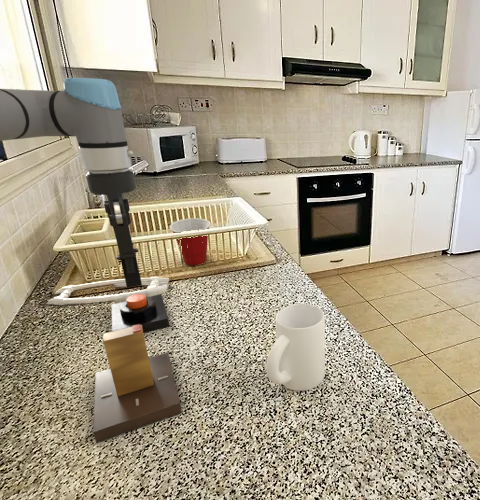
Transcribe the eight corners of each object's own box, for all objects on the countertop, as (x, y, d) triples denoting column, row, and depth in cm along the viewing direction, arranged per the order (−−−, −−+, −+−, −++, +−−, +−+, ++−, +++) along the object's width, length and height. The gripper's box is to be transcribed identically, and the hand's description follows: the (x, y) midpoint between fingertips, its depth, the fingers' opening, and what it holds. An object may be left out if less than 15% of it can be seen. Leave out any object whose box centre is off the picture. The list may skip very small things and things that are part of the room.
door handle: (167, 298, 89) (42, 314, 81) (171, 281, 98) (58, 293, 90) (166, 288, 88) (38, 303, 80) (170, 272, 97) (55, 283, 89)
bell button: (127, 303, 79) (125, 296, 79) (146, 299, 81) (145, 292, 81) (128, 311, 77) (126, 303, 76) (147, 306, 78) (146, 299, 78)
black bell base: (113, 313, 83) (109, 297, 81) (163, 302, 87) (160, 287, 86) (114, 341, 73) (109, 323, 72) (169, 327, 78) (166, 310, 77)
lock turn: (117, 396, 57) (102, 339, 53) (117, 387, 58) (102, 332, 55) (154, 385, 59) (142, 330, 55) (152, 377, 61) (141, 323, 57)
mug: (251, 392, 61) (245, 330, 57) (297, 354, 70) (295, 298, 66) (289, 414, 57) (286, 348, 52) (333, 370, 66) (334, 312, 62)
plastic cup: (174, 272, 103) (167, 231, 99) (176, 258, 112) (170, 219, 108) (216, 267, 107) (211, 227, 102) (214, 253, 116) (209, 216, 112)
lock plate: (98, 382, 62) (95, 371, 62) (169, 361, 68) (167, 351, 67) (96, 443, 51) (92, 431, 50) (182, 412, 57) (180, 401, 56)
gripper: (134, 174, 65) (157, 293, 74) (130, 164, 76) (151, 270, 84) (83, 177, 62) (113, 303, 70) (86, 166, 72) (112, 277, 81)
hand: (134, 284), depth 77 cm, fingers closed
